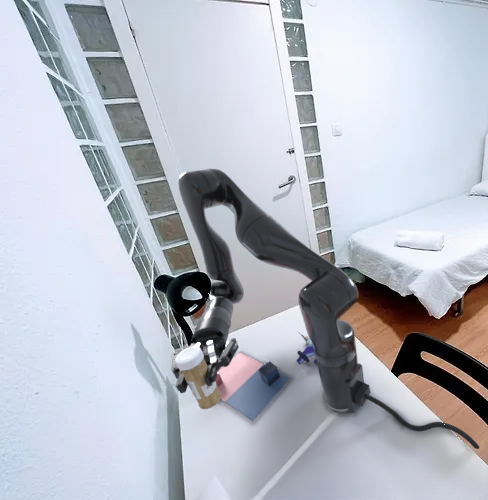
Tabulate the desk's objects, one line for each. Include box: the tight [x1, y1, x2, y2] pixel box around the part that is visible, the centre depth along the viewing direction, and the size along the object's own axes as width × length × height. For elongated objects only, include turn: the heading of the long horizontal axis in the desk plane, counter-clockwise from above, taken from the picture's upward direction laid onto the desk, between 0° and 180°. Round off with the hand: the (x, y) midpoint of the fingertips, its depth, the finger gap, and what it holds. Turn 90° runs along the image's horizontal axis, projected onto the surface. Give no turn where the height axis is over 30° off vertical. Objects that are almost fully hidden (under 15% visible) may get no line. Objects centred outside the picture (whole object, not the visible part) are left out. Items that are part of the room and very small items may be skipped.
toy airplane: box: [295, 331, 317, 365], centre depth 81 cm, size 13×14×4 cm
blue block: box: [258, 360, 280, 386], centre depth 73 cm, size 4×4×4 cm
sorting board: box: [218, 351, 291, 422], centre depth 74 cm, size 21×13×1 cm, turn 58°
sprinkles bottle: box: [175, 346, 221, 410], centre depth 56 cm, size 5×5×13 cm
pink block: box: [215, 373, 223, 387], centre depth 74 cm, size 4×4×4 cm
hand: (194, 386), depth 53 cm, fingers closed on sprinkles bottle, 4 cm apart
